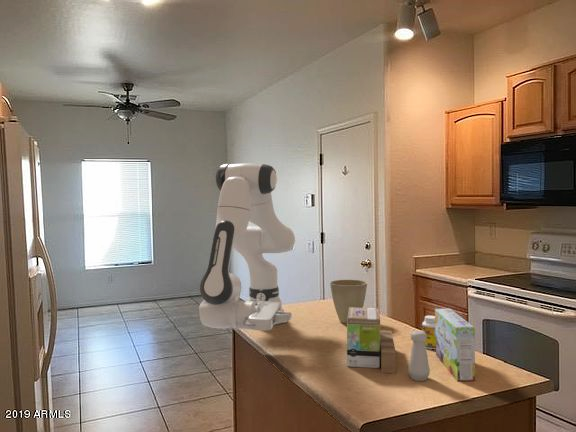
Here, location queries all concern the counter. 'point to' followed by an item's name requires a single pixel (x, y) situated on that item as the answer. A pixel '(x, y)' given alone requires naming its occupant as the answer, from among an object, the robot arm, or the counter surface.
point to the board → (387, 352)
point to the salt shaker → (418, 357)
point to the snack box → (455, 344)
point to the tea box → (363, 337)
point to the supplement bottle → (429, 332)
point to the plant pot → (347, 296)
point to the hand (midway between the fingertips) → (290, 316)
